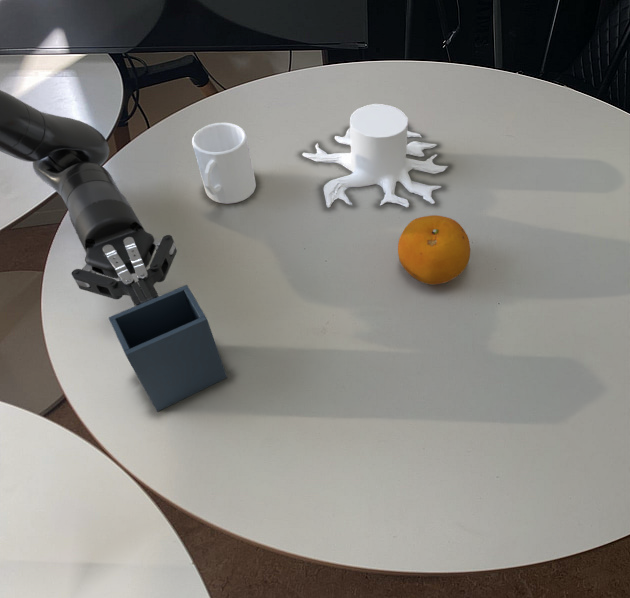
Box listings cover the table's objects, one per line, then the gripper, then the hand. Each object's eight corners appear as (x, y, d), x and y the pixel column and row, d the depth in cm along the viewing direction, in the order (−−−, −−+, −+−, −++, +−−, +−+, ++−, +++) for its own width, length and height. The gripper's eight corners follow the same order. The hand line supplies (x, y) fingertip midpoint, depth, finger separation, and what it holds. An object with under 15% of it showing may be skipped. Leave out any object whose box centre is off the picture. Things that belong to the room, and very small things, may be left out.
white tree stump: (459, 204, 98) (466, 157, 91) (305, 214, 95) (300, 166, 88) (435, 123, 113) (439, 77, 105) (301, 130, 110) (296, 83, 102)
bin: (140, 376, 75) (108, 317, 66) (208, 344, 79) (186, 284, 69) (157, 412, 72) (125, 355, 63) (227, 377, 76) (207, 319, 66)
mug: (190, 217, 94) (174, 166, 86) (214, 170, 102) (202, 119, 94) (241, 223, 94) (229, 172, 86) (261, 175, 101) (252, 124, 94)
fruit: (387, 284, 86) (388, 244, 80) (409, 236, 93) (411, 196, 87) (457, 302, 85) (463, 264, 79) (474, 252, 91) (481, 213, 85)
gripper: (40, 218, 74) (80, 311, 65) (146, 182, 79) (197, 263, 70) (64, 260, 80) (104, 351, 71) (162, 224, 85) (210, 304, 76)
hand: (150, 307), depth 70 cm, fingers closed
